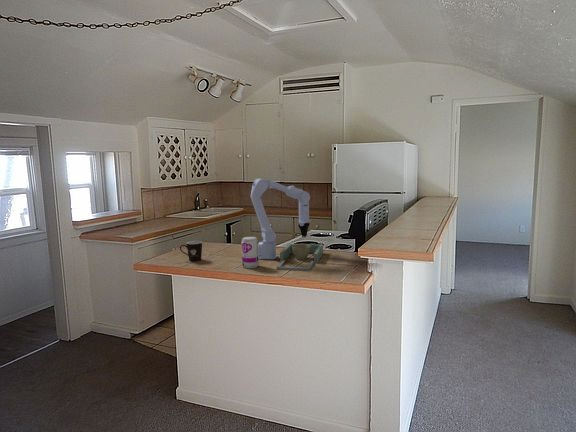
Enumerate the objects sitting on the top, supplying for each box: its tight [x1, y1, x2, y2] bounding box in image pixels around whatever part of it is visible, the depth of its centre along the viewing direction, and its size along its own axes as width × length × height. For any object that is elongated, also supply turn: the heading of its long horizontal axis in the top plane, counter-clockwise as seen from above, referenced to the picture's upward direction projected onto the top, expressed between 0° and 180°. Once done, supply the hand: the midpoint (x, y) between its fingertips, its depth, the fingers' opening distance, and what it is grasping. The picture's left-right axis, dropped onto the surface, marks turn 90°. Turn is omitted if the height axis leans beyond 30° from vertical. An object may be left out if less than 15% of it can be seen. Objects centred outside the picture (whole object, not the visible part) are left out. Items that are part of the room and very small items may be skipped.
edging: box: [276, 259, 315, 272], centre depth 217 cm, size 16×14×1 cm
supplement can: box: [240, 236, 259, 269], centre depth 218 cm, size 8×8×15 cm
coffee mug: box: [179, 240, 203, 263], centre depth 235 cm, size 12×9×10 cm
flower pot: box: [292, 243, 310, 261], centre depth 232 cm, size 10×10×7 cm
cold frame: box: [279, 243, 324, 264], centre depth 235 cm, size 20×23×5 cm
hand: (304, 236), depth 241 cm, fingers closed
